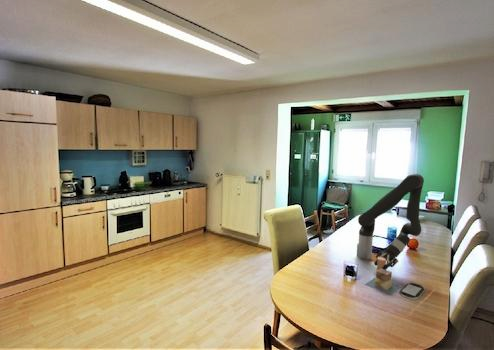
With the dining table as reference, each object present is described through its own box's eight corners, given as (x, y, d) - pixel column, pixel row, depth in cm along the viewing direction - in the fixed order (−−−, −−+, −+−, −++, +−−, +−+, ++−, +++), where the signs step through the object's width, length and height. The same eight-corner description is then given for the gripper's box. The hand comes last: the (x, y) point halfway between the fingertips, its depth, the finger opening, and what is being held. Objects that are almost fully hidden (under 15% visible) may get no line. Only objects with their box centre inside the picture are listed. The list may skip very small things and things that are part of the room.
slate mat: (364, 285, 160) (364, 284, 160) (376, 278, 170) (376, 276, 170) (390, 296, 149) (390, 295, 149) (402, 287, 159) (402, 286, 158)
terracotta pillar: (376, 274, 174) (377, 259, 173) (376, 271, 178) (377, 256, 177) (384, 275, 172) (385, 260, 171) (384, 272, 176) (385, 258, 175)
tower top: (376, 277, 159) (376, 271, 159) (380, 274, 163) (381, 268, 163) (386, 281, 155) (387, 275, 154) (391, 278, 159) (391, 271, 158)
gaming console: (415, 303, 144) (415, 299, 143) (397, 296, 150) (397, 292, 150) (426, 290, 157) (426, 286, 157) (409, 284, 163) (409, 280, 163)
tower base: (374, 285, 160) (374, 277, 159) (379, 281, 164) (380, 274, 164) (386, 289, 155) (387, 282, 154) (391, 286, 159) (392, 278, 159)
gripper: (384, 240, 182) (368, 259, 180) (401, 248, 168) (384, 268, 166) (390, 247, 184) (374, 266, 182) (407, 256, 170) (390, 276, 168)
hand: (379, 267), depth 174 cm, fingers closed on terracotta pillar, 6 cm apart
